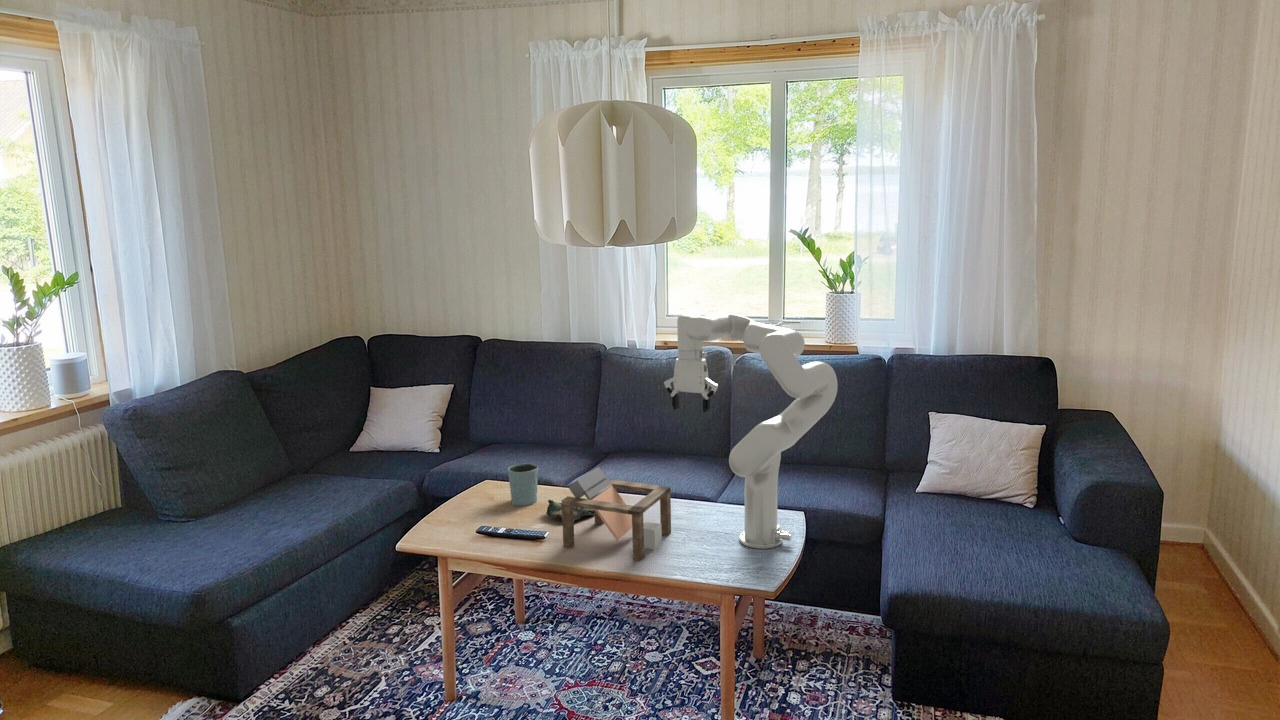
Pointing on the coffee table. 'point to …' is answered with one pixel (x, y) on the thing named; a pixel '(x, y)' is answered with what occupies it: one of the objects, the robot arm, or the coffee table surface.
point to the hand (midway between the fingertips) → (691, 409)
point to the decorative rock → (556, 510)
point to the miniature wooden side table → (636, 512)
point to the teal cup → (523, 483)
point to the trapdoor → (603, 490)
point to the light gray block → (652, 535)
